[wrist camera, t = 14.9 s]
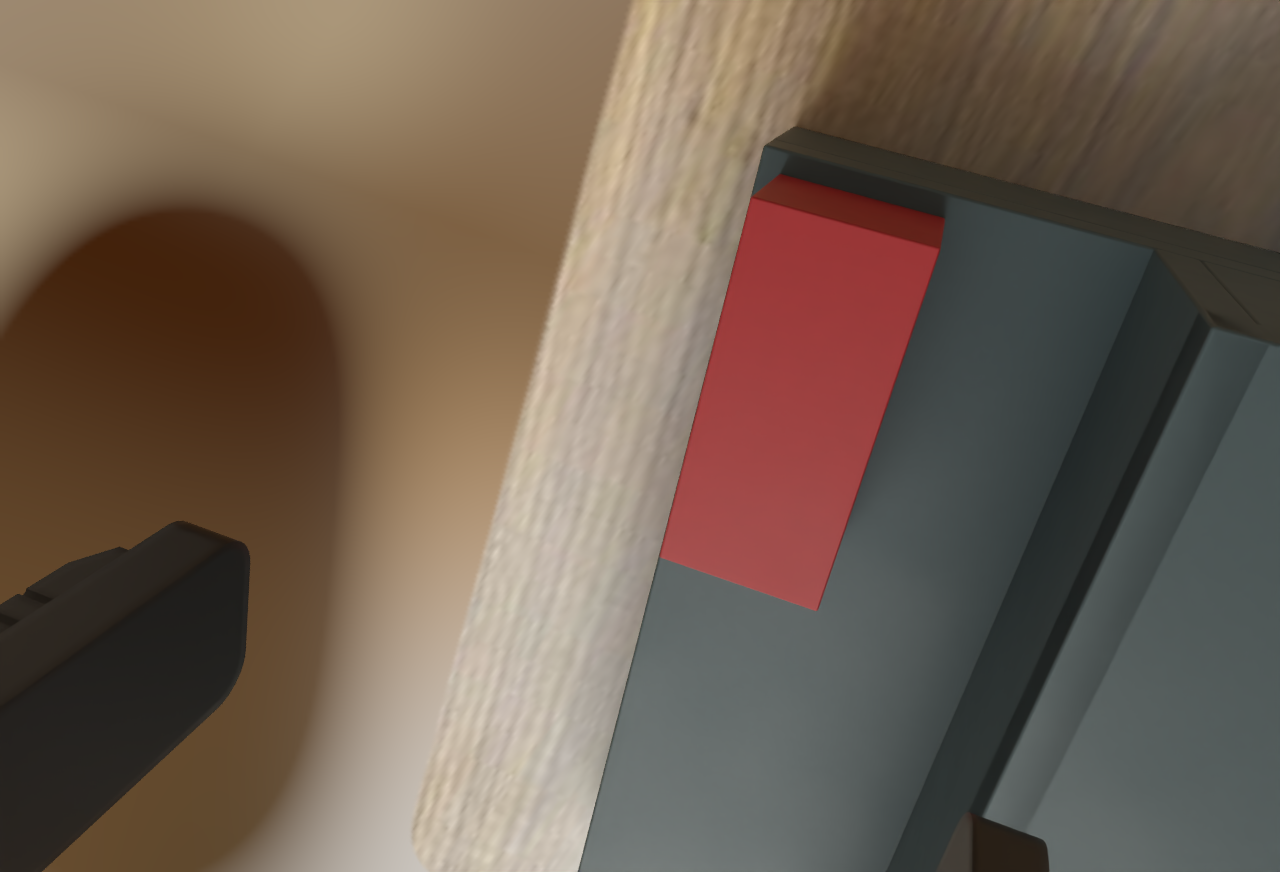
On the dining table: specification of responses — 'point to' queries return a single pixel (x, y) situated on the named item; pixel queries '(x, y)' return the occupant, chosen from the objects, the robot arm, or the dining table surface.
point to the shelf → (999, 575)
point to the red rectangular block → (798, 384)
